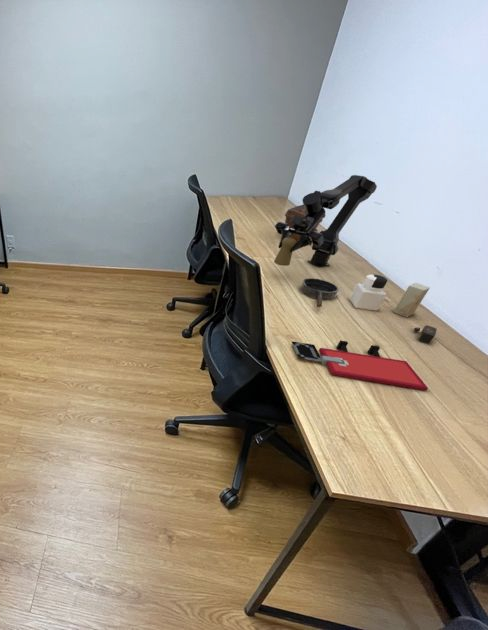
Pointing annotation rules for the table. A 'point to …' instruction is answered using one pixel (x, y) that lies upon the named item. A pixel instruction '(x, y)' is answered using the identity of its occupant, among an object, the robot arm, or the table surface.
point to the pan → (319, 288)
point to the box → (411, 299)
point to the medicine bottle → (369, 293)
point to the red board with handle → (362, 365)
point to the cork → (285, 252)
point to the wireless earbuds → (426, 333)
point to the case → (299, 212)
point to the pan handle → (319, 299)
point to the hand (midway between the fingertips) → (284, 249)
